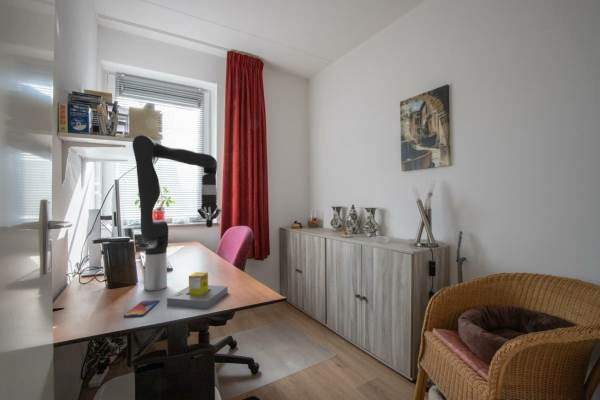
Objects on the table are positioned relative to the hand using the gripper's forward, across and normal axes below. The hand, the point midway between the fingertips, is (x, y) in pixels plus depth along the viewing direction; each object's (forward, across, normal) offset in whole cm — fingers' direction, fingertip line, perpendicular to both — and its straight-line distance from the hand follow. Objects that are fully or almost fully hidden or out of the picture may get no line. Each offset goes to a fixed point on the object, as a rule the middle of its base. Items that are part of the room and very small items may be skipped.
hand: (209, 227), depth 139 cm
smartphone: (+30, -9, -35) cm, 47 cm away
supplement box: (+29, +7, -21) cm, 37 cm away
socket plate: (+29, +7, -21) cm, 36 cm away
